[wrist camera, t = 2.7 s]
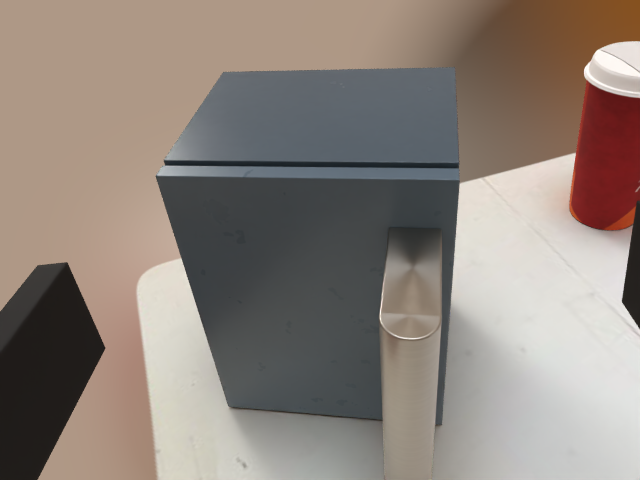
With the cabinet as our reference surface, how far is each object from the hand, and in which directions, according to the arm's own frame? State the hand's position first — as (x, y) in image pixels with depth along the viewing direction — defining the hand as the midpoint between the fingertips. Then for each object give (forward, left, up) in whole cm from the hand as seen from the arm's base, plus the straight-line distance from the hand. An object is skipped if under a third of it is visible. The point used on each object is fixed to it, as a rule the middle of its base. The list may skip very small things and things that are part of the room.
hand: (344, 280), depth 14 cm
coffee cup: (-8, +41, -26) cm, 49 cm away
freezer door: (-9, +5, -26) cm, 28 cm away
